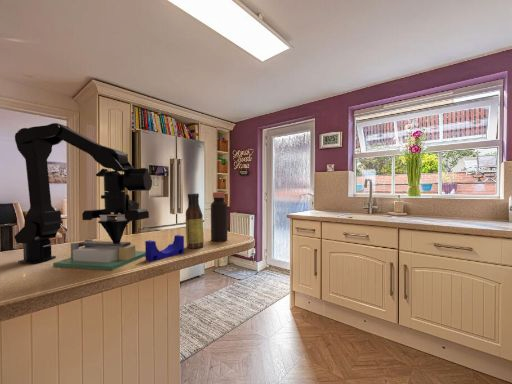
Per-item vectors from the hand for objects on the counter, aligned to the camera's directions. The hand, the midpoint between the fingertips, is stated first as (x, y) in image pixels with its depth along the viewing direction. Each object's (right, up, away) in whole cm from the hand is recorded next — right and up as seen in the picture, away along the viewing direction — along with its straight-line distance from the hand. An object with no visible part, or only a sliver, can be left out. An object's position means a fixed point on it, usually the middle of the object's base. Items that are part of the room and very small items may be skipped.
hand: (116, 243), depth 77 cm
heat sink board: (-4, -5, +1) cm, 7 cm away
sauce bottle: (+19, -5, +18) cm, 27 cm away
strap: (-5, -1, +1) cm, 5 cm away
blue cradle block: (+12, -6, +5) cm, 15 cm away
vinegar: (+27, -5, +30) cm, 40 cm away
